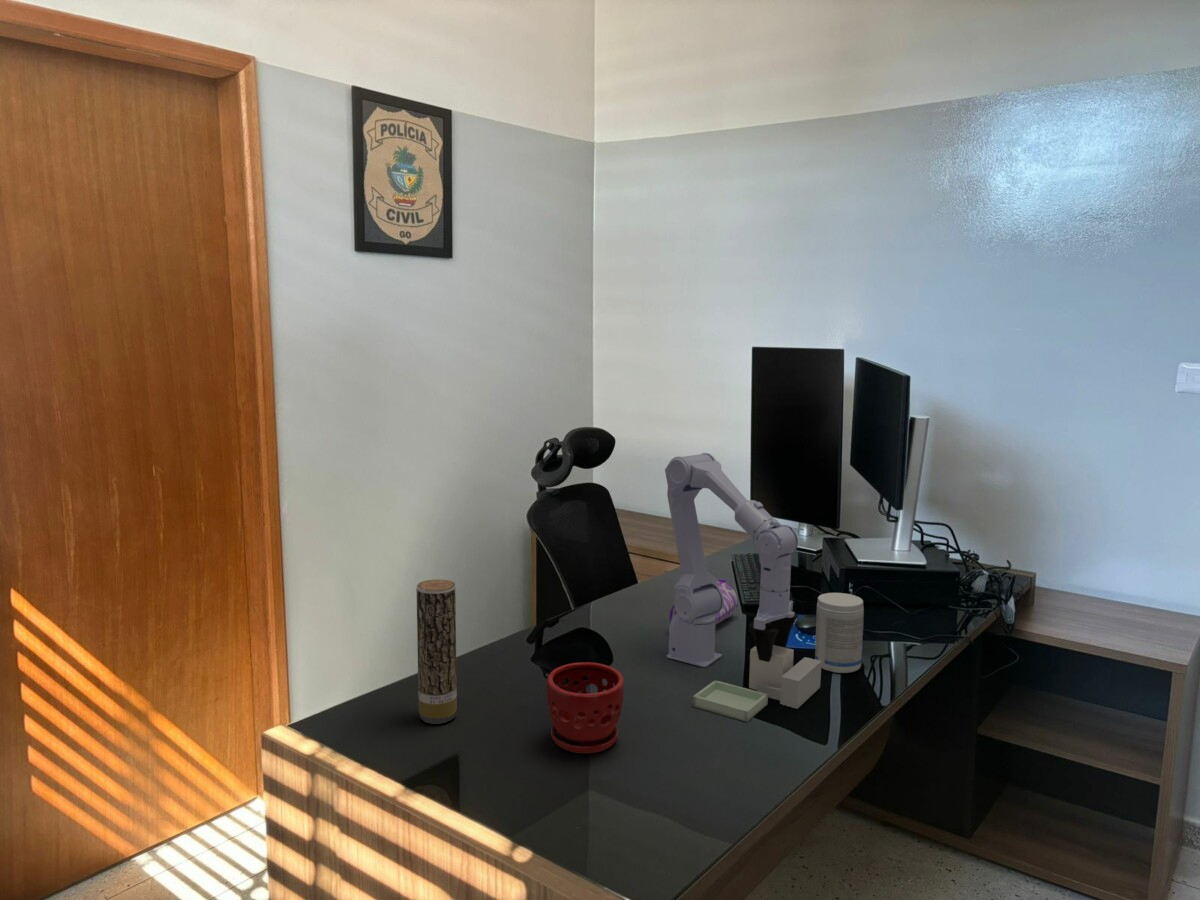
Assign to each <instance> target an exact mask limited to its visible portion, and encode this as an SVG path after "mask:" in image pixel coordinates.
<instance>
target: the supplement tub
mask: <svg viewBox="0 0 1200 900" xmlns="http://www.w3.org/2000/svg"><path fill="white" fill-rule="evenodd" d="M864 607H865V606H864V600H863V599H862V598H861V597H859V596H857V595H855V594H849V593H845V592H844V593H843V592H827V593H822V594H820V595H819V596H818V597H817V603H816V616H815V618H816V619H815V621H816V622H815V624H816V625H815V647H814V648H815V651H814V659H815V660H819V661H822V662H821V670H822V669H823V670H825V671H828V672H831V673H835V674H836V673H838V674H849V673H854V672H856V671H858V670H860V668H861V667H862V660H863V636H864V619H865V618H864V617H865V614H864V613H865V611H864V610H865V609H864Z"/></svg>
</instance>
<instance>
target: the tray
mask: <svg viewBox="0 0 1200 900" xmlns="http://www.w3.org/2000/svg"><path fill="white" fill-rule="evenodd" d="M768 700H769V698H768V694H765V693H761V692H758V691H757V690H755V689H751V688H746V687H744V686H742V687H741V686H739V685H734V684H731V683H727V682H724V681H719V680H713V681H712V682H711V683H709V684H707V686H705V687H704V688H702V689H701V690H700V691H698V692H697V693H696V694H694V695H692V707H694V708H697V709H700V710H704V711H707V712H710V713H715V714H718V715H721V716H725V717H728V718H732V719H735V720H739V721H743V722H746V723H748V722H749V721H750V720H752V719H753V718H754V717H755V716H756V715H757V714H759V712H761V711H762V710H763V709H765V707H766V706H768V703H769V701H768Z"/></svg>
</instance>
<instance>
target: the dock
mask: <svg viewBox="0 0 1200 900" xmlns="http://www.w3.org/2000/svg"><path fill="white" fill-rule="evenodd" d="M821 662H822V661H819V660H815V658H814V659H813V658H812V657H806V656H804V657H803V658H802V659H801V660H799V661H798V662H797V663H796V664H795V665H793V667H792V668H791V669H790V670H789V671H787V672H786V673H785V674H784V675H783V676H781V688H777V687H773V686H769V685H765V684H761V683H758V684H757V690H756V691H758V692H761V693H765V694H768V699H773V700H777V701H779V705H781V704H782V705H781V706H785V705H786V707H790V708H793V709H797V710H798V709H799V708H800V707H801V706H802V705H803V704H804V703H805V702H806V701H808V699H810V697H812V696H813V695H814V694H815V693H816V692H817V691H819V689H820V688H821V677H822V675H821V674H822V668H821Z"/></svg>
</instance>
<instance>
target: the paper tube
mask: <svg viewBox="0 0 1200 900" xmlns="http://www.w3.org/2000/svg"><path fill="white" fill-rule="evenodd" d="M456 599H457V596H456V583H455V582H454V581H453V580H449V579H428V580H427V579H426V580H423V581H420V582H419V583H417V585H416V629H417V630H416V632H417V634H416V635H417V636H416V637H417V679H418V680H417V683H418V684H417V686H418V689H417V690H418V691H417V693H418V696H417V697H418V714H419V713H420V715H422V716H424V717H428V718H436V719H438V718H439V719H440V718H446V717H450V716H452V715H453V714H455V712H456V711H458V708H457V701H458V700H457V696H458V694H457V693H458V691H457V688H458V687H457V622H456V620H457V609H456V608H457V607H456V606H457V605H456V603H457V602H456Z"/></svg>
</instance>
